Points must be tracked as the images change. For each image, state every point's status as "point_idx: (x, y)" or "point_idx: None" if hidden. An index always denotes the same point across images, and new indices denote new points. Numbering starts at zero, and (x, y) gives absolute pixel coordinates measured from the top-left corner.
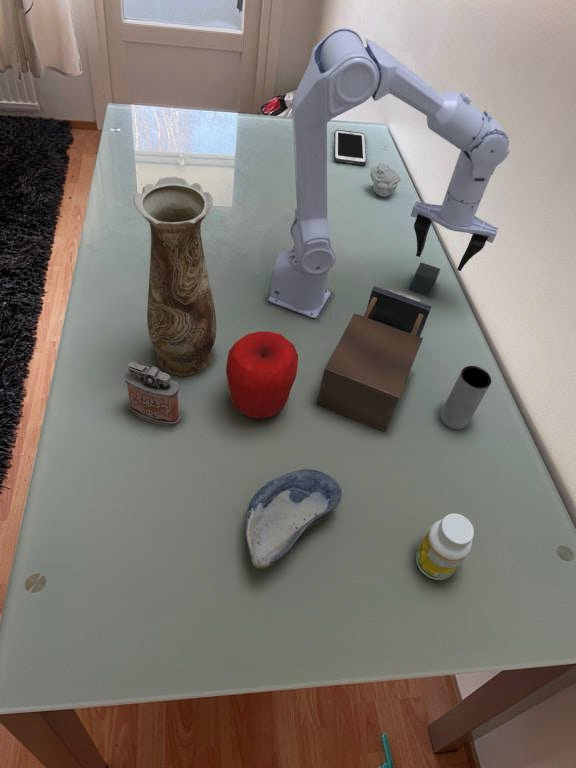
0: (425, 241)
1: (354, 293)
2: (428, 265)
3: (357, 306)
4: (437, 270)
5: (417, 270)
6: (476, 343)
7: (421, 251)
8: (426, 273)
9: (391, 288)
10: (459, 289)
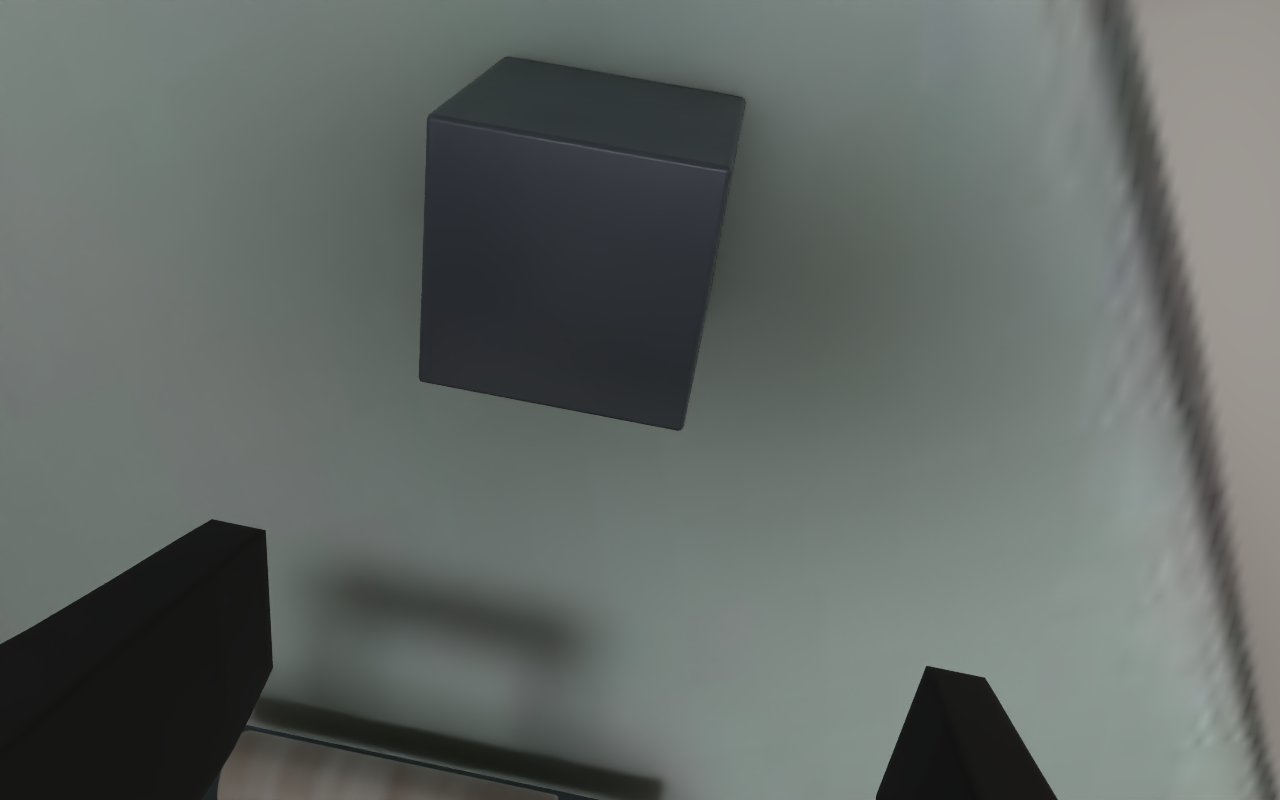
0: (156, 620)
1: (63, 475)
2: (550, 156)
3: None
4: (690, 223)
5: (429, 320)
6: (1144, 749)
7: (219, 740)
8: (551, 340)
9: (238, 790)
10: (1075, 68)
